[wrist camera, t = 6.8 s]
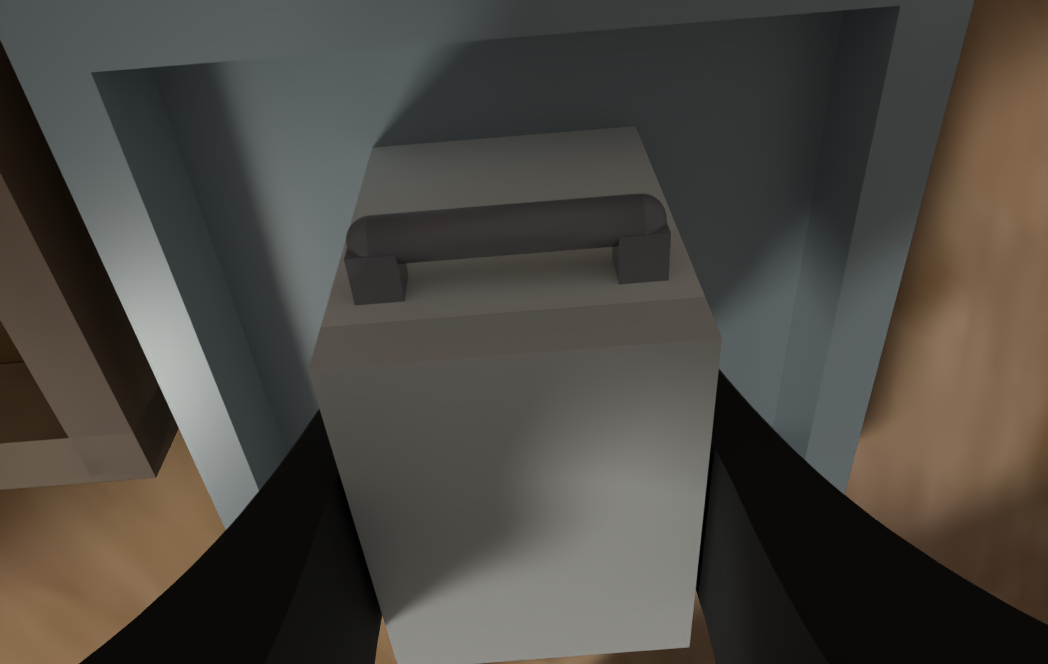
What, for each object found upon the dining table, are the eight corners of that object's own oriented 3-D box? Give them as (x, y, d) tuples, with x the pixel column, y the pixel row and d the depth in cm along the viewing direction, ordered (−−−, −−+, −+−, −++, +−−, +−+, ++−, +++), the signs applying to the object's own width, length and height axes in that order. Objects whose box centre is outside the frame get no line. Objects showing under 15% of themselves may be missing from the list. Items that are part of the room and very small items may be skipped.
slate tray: (280, 518, 20) (258, 601, 18) (63, -39, 12) (-18, 1, 10) (793, 478, 20) (827, 557, 18) (912, -111, 12) (996, -83, 10)
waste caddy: (423, 408, 17) (399, 669, 12) (360, 89, 13) (285, 294, 8) (630, 391, 17) (689, 647, 12) (636, 67, 13) (731, 258, 8)
